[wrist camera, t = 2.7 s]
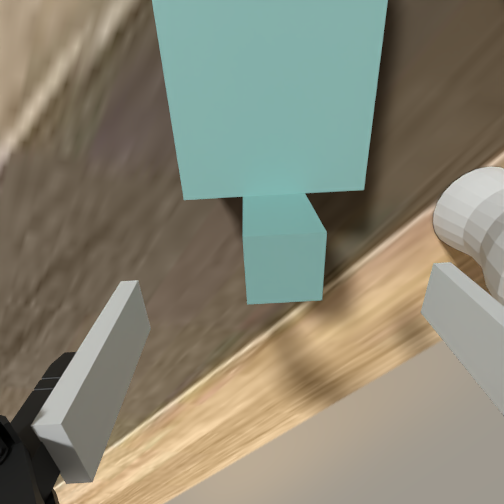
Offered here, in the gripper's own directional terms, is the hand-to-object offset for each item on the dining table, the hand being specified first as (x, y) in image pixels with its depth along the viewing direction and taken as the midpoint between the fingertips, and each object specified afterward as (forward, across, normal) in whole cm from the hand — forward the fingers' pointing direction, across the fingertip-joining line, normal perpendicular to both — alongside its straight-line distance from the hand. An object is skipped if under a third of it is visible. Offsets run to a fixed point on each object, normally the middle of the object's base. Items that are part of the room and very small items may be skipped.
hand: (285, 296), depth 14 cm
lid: (+9, 0, +9) cm, 12 cm away
